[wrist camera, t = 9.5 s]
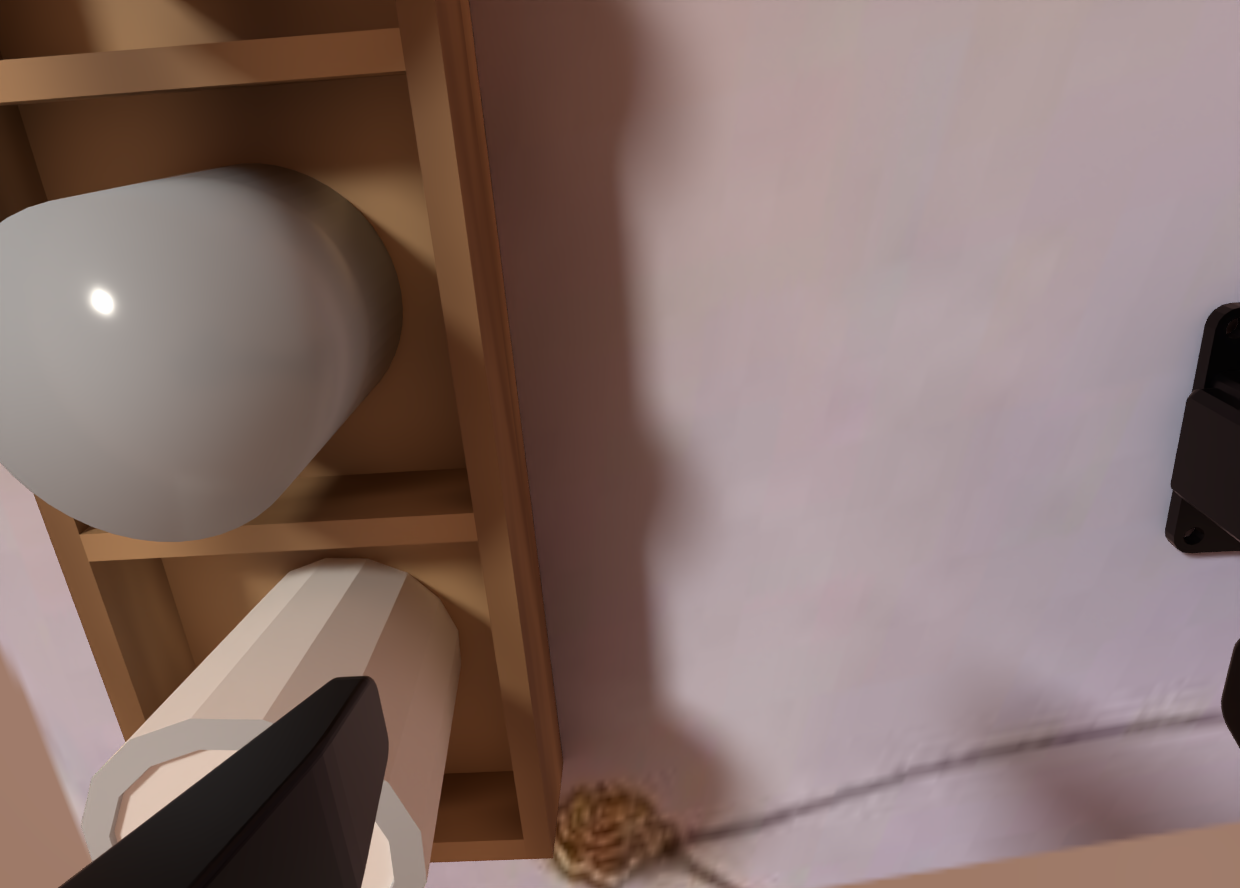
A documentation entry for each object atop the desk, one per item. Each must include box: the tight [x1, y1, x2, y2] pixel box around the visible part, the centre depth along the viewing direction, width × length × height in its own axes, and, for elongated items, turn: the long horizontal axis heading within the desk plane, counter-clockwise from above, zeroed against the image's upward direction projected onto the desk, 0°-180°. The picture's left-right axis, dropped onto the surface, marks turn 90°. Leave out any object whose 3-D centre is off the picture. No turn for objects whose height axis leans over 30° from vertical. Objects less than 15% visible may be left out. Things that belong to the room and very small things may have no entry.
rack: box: [0, 0, 563, 863], centre depth 19 cm, size 10×30×4 cm, turn 4°
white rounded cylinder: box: [0, 163, 403, 542], centre depth 17 cm, size 6×6×6 cm
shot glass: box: [81, 558, 461, 888], centre depth 20 cm, size 7×7×7 cm
